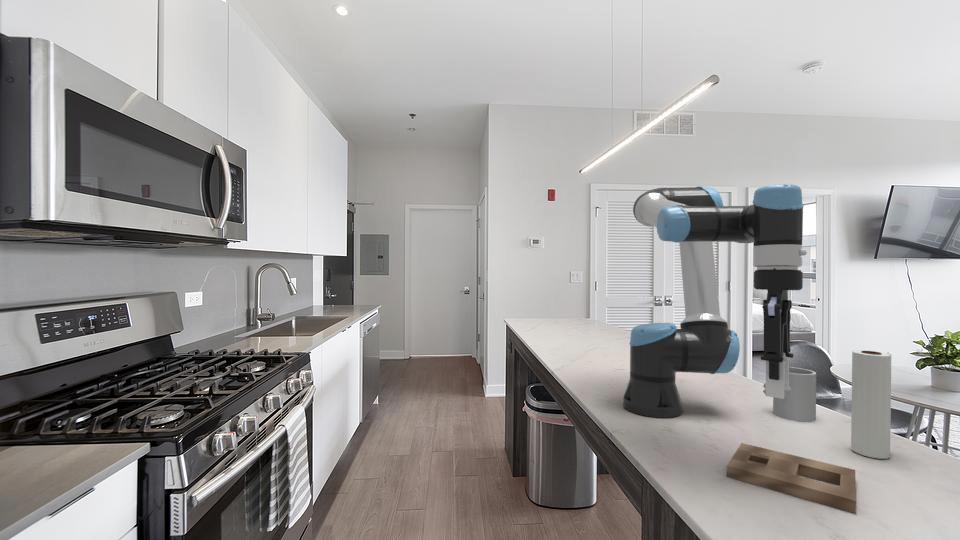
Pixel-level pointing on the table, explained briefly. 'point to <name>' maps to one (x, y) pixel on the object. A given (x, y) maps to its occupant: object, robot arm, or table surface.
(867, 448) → the paper towel roll
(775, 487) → the socket board
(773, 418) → the table surface
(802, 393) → the cup
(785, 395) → the rook chess piece
